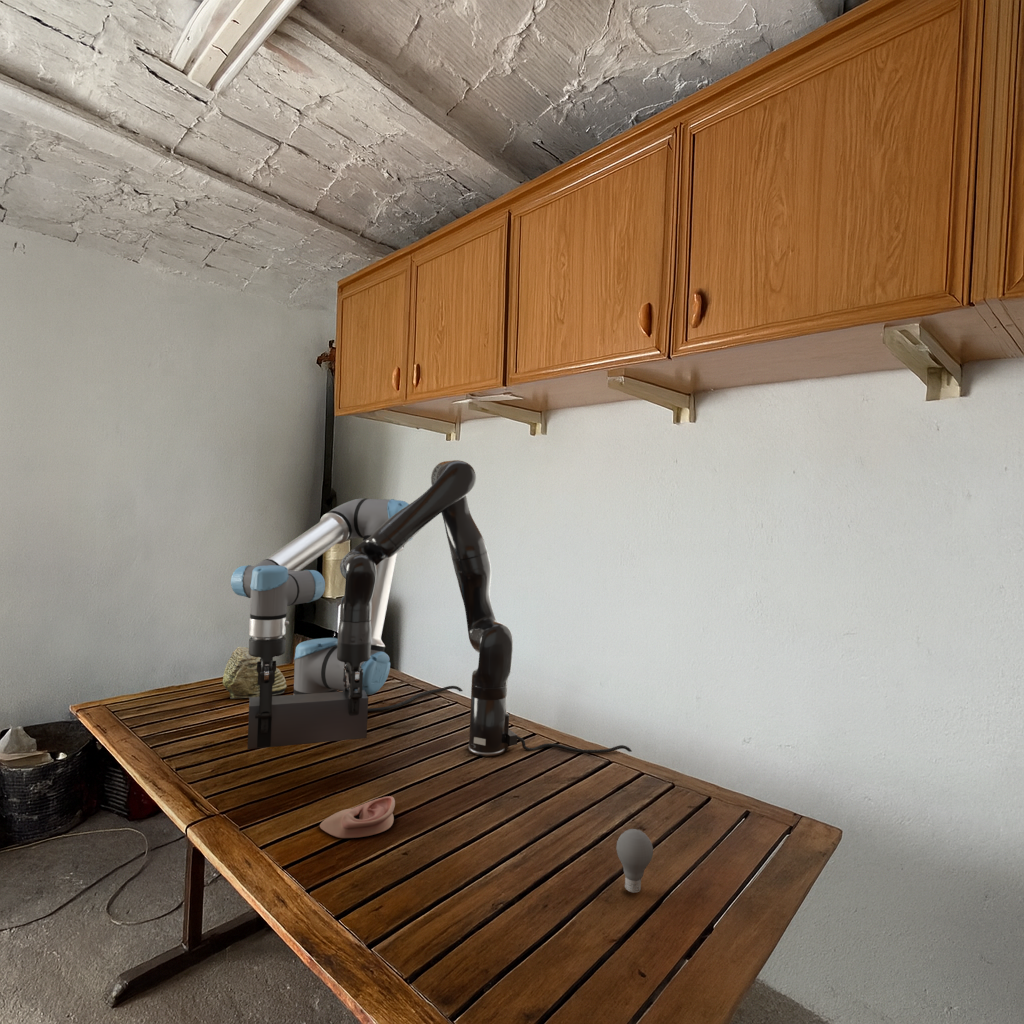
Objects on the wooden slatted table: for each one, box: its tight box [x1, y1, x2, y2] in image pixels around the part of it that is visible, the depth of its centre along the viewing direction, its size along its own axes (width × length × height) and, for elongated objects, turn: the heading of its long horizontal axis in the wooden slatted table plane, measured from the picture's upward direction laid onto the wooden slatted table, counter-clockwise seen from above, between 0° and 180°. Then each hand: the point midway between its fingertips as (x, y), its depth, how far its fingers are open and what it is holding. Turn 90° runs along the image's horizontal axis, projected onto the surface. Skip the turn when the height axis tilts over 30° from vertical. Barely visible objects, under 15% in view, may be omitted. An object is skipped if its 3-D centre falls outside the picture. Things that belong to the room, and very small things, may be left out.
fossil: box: [222, 646, 288, 699], centre depth 198 cm, size 9×18×15 cm, turn 132°
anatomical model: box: [319, 795, 396, 839], centre depth 123 cm, size 13×4×12 cm
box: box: [247, 690, 369, 750], centre depth 143 cm, size 25×6×9 cm, turn 111°
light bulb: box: [615, 828, 654, 894], centre depth 106 cm, size 6×6×10 cm
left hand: (263, 740), depth 140 cm, fingers closed on box, 6 cm apart
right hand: (351, 708), depth 146 cm, fingers open, 8 cm apart
